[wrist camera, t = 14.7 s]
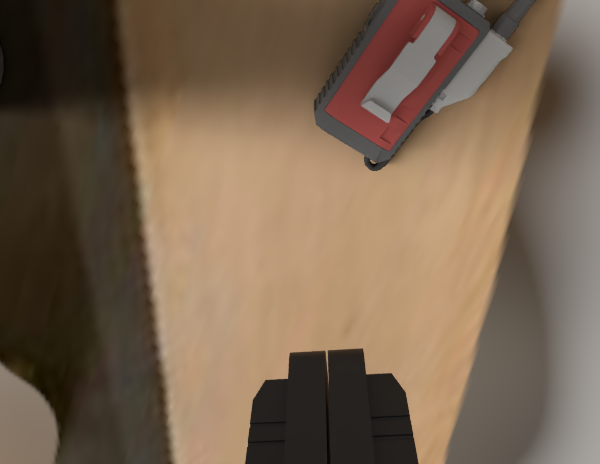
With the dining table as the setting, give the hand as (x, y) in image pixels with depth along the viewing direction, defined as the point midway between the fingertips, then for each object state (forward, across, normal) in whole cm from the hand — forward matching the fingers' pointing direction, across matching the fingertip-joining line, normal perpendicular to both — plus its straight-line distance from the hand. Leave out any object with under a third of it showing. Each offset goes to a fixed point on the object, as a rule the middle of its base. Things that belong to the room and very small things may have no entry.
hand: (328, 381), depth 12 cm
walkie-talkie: (+32, -8, 0) cm, 33 cm away
